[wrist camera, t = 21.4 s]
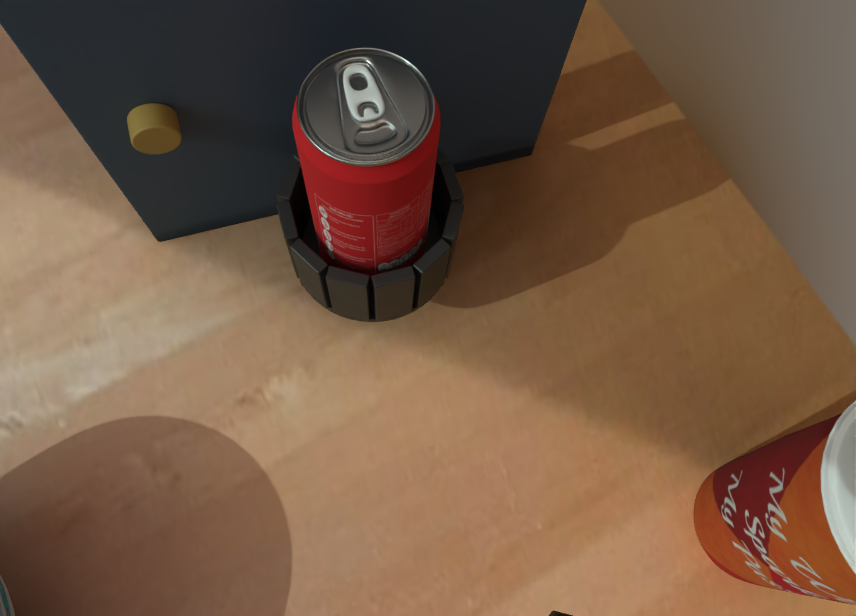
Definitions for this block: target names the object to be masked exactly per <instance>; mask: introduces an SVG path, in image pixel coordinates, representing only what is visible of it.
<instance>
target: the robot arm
mask: <svg viewBox="0 0 856 616" xmlns="http://www.w3.org/2000/svg"><path fill="white" fill-rule="evenodd" d="M549 616H572V615H568V614H565V613H561V612H557V611H552V612H551V613H550V615H549Z"/></svg>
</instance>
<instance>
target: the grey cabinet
mask: <svg viewBox="0 0 856 616" xmlns="http://www.w3.org/2000/svg"><path fill="white" fill-rule="evenodd" d="M586 1H587V0H0V24H1V25H2V27H3V28H4V30H5V31H6V32H7V34H8V35H9V36H10V38H11V39H12V41H13V42H14V43H15V45H16V46H17V47H18V49H19V50H20V52H21V53H22V54H23V56H24V57H25V59H26V60H27V61H28V63H29V64H30V65H31V67H32V68H33V70H34V71H35V72H36V74H37V75H38V76H39V78H40V79H41V81H42V82H43V83H44V85H45V86H46V87H47V89H48V90H49V92H50V93H51V94H52V96H53V97H54V99H55V100H56V101H57V103H58V104H59V105H60V107H61V108H62V110H63V111H64V112H65V114H66V115H67V116H68V118H69V119H70V121H71V122H72V123H73V125H74V126H75V127H76V129H77V130H78V132H79V133H80V134H81V136H82V137H83V138H84V140H85V141H86V143H87V144H88V145H89V147H90V148H91V150H92V151H93V152H94V154H95V155H96V156H97V158H98V159H99V161H100V162H101V163H102V165H103V166H104V167H105V169H106V170H107V172H108V173H109V174H110V176H111V177H112V178H113V180H114V181H115V183H116V184H117V185H118V187H119V188H120V189H121V191H122V192H123V194H124V195H125V196H126V198H127V199H128V201H129V202H130V203H131V205H132V206H133V207H134V209H135V210H136V212H137V213H138V214H139V216H140V217H141V218H142V220H143V221H144V223H145V224H146V225H147V227H148V228H149V229H150V231H151V232H152V234H153V235H154V236H155V238H156V239H157V241H164V240H168V239H172V238H176V237H181V236H185V235H189V234H194V233H198V232H202V231H206V230H211V229H215V228H219V227H223V226H228V225H232V224H236V223H241V222H245V221H249V220H253V219H258V218H262V217H266V216H271V215H275V214H279V218H280V222H281V226H282V229H283V233H284V237H285V241H286V244H287V247H288V250H289V253H290V256H291V260H292V263H293V266H294V269H295V272H296V275H297V278H299V279H300V281H301V284H302V286H303V287H304V288H305V289H306V290H307V292H308V293H309V294H310V295H311V296H312V297H313V298H314V299H315V300H316V301H317V302H318V303H319V304H321V305H322V306H323V307H325V308H326V309H328V310H330V311H331V312H333V313H335V314H337V315H340V316H342V317H345V318H348V319H352V320H357V321H364V322H380V321H388V320H393V319H396V318H399V317H402V316H405V315H407V314H409V313H411V312H414V311H415V310H417V309H418V308H420V307H421V306H423V305H424V304H425V303H426V302H428V301H429V300H430V299H431V298H432V297H433V296H434V295H435V294H436V292H437V291H438V290H439V288H440V287H441V286H442V285H443V283H444V280H445V278H447V277H448V273H449V269H450V265H451V261H452V257H453V253H454V249H455V245H456V240H457V236H458V231H459V226H460V222H461V217H462V213H463V208H464V204H462V202H463V198H464V196H463V193H462V190H461V187H460V184H459V181H458V178H457V175H456V173H455V172H459V171H463V170H467V169H472V168H476V167H480V166H484V165H489V164H493V163H497V162H502V161H506V160H510V159H514V158H519V157H523V156H527V155H531V154H532V151H533V149H534V146H535V143H536V140H537V137H538V135H539V132H540V129H541V126H542V123H543V121H544V118H545V115H546V112H547V109H548V107H549V104H550V101H551V98H552V95H553V93H554V90H555V87H556V84H557V81H558V79H559V76H560V73H561V70H562V68H563V65H564V62H565V59H566V56H567V54H568V51H569V48H570V45H571V42H572V40H573V37H574V34H575V31H576V28H577V26H578V23H579V20H580V17H581V14H582V12H583V9H584V6H585V3H586ZM357 47H373V48H380V49H385V50H388V51H391V52H394V53H396V54H399V55H401V56H403V57H404V58H406V59H408V60H409V61H410V62H412V63H413V64H414V65H415V66H417V67H418V68H419V69H420V71H421V72H422V73H423V74H424V76H425V77H426V79H427V80H428V82H429V84H430V86H431V88H432V91H433V94H434V96H435V98H436V101H437V104H438V107H439V111H440V133H439V141H438V149H437V158H436V166H435V174H434V182H433V190H432V198H431V206H430V214H429V222H428V230H427V239H426V246H425V250H424V253H423V256H422V257H421V258H420V259H418V260H417V261H416V262H415V263H414V264H413V267H412V266H408V267H404V268H400V269H396V270H392V271H388V272H384V273H380V274H376V275H372V276H371V280H372V288H371V285H370V276H369V275H366V274H362V273H358V272H354V271H349V270H345V269H341V268H337V267H333V266H329V267H328V264H327V263H326V262H325V261H324V260H323V258H322V256H321V253H320V250H319V245H318V241H317V236H316V232H315V227H314V223H313V218H312V214H311V209H310V205H309V200H308V196H307V191H306V187H305V182H304V177H303V173H302V168H301V164H300V159H299V155H298V150H297V146H296V141H295V137H294V132H293V124H292V116H293V109H294V104H295V101H296V97H297V95H298V91H299V87H300V84H301V82H302V81H303V79H304V78H305V77H306V75H307V74H308V73H309V72H310V70H311V69H312V68H313V67H314V66H315V65H316V64H318V63H319V62H320V61H322V60H323V59H325V58H326V57H328V56H330V55H332V54H334V53H336V52H339V51H342V50H346V49H350V48H357Z"/></svg>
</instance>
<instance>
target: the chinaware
mask: <svg viewBox="0 0 856 616" xmlns="http://www.w3.org/2000/svg"><path fill="white" fill-rule="evenodd" d="M0 616H15V612H14V608H13V604H12V601H11V598H10V595H9V592H8V590H7V587H6V585H5V583H4V581H3V579H2V577H1V575H0Z"/></svg>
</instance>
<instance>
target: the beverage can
mask: <svg viewBox="0 0 856 616" xmlns="http://www.w3.org/2000/svg"><path fill="white" fill-rule="evenodd" d="M292 124H293V132H294V137H295V141H296V146H297V150H298V155H299V159H300V164H301V168H302V173H303V177H304V182H305V187H306V191H307V196H308V200H309V205H310V209H311V214H312V218H313V223H314V227H315V232H316V236H317V241H318V245H319V250H320V253H321V256H322V258H323V260H324V261H325V262H326V263H327V264H328V267H329V266H333V267H337V268H341V269H345V270H349V271H354V272H358V273H362V274H366V275H369V276H370V285H371V288H372V280H371V276H372V275H376V274H380V273H384V272H388V271H392V270H396V269H400V268H404V267H408V266H412V267H413V264H414V263H415V262H416V261H417V260H418V259H420V258H421V257H422V256H423V253H424V250H425V246H426V239H427V230H428V222H429V214H430V206H431V198H432V190H433V182H434V174H435V166H436V158H437V149H438V141H439V133H440V111H439V107H438V104H437V101H436V98H435V96H434V94H433V91H432V88H431V86H430V84H429V82H428V80H427V79H426V77H425V76H424V74H423V73H422V72H421V71H420V69H419V68H418V67H417V66H415V65H414V64H413V63H412V62H410V61H409V60H408V59H406V58H404V57H403V56H401V55H399V54H396V53H394V52H391V51H388V50H385V49H380V48H373V47H357V48H350V49H346V50H342V51H339V52H336V53H334V54H332V55H330V56H328V57H326V58H325V59H323V60H322V61H320V62H319V63H318V64H316V65H315V66H314V67H313V68H312V69H311V70H310V72H309V73H308V74H307V75H306V77H305V78H304V79H303V81H302V82H301V84H300V87H299V91H298V95H297V97H296V101H295V104H294V109H293V116H292Z"/></svg>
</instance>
